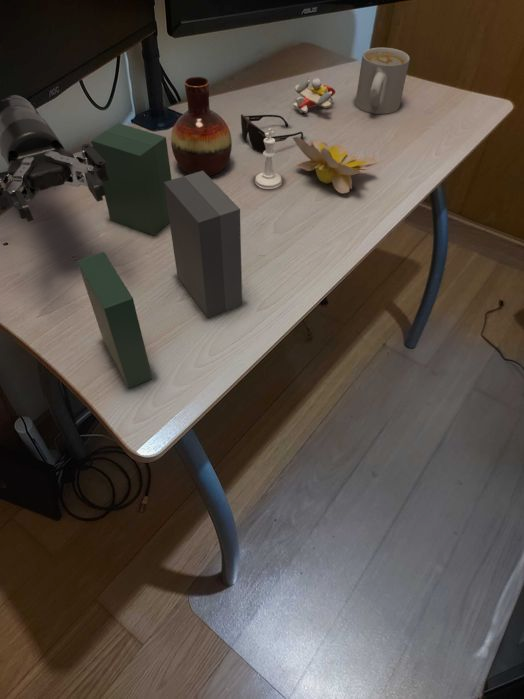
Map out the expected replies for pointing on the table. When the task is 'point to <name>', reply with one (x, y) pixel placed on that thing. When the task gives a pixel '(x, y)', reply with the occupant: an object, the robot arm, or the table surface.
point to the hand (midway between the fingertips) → (64, 204)
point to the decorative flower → (332, 163)
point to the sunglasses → (260, 131)
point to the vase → (200, 133)
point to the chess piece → (268, 166)
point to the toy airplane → (313, 95)
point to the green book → (116, 318)
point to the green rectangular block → (135, 177)
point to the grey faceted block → (205, 241)
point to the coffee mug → (382, 80)
